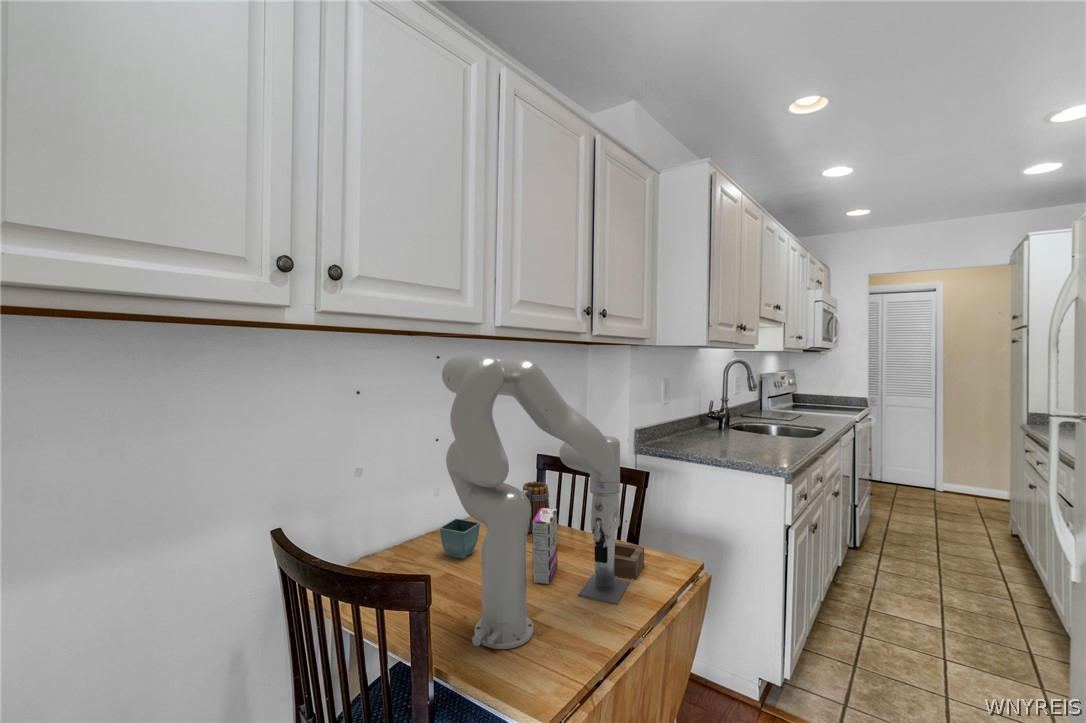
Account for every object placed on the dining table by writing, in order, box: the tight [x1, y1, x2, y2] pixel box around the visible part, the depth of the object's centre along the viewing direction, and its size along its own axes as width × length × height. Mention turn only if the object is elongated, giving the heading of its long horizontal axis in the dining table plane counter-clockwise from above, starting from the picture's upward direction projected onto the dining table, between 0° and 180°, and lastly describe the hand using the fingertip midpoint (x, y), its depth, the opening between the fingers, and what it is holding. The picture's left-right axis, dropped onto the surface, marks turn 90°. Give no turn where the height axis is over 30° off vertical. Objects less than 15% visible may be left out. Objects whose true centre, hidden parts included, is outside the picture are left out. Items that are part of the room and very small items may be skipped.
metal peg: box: [594, 531, 616, 587], centre depth 122 cm, size 5×5×14 cm
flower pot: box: [439, 518, 481, 560], centre depth 143 cm, size 9×9×9 cm
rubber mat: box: [577, 573, 631, 606], centre depth 122 cm, size 12×10×1 cm
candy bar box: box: [531, 507, 558, 585], centre depth 130 cm, size 11×5×16 cm, turn 168°
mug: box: [521, 481, 550, 534], centre depth 162 cm, size 16×11×15 cm
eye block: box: [614, 542, 645, 581], centre depth 134 cm, size 10×10×5 cm
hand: (604, 556), depth 122 cm, fingers closed on metal peg, 4 cm apart
